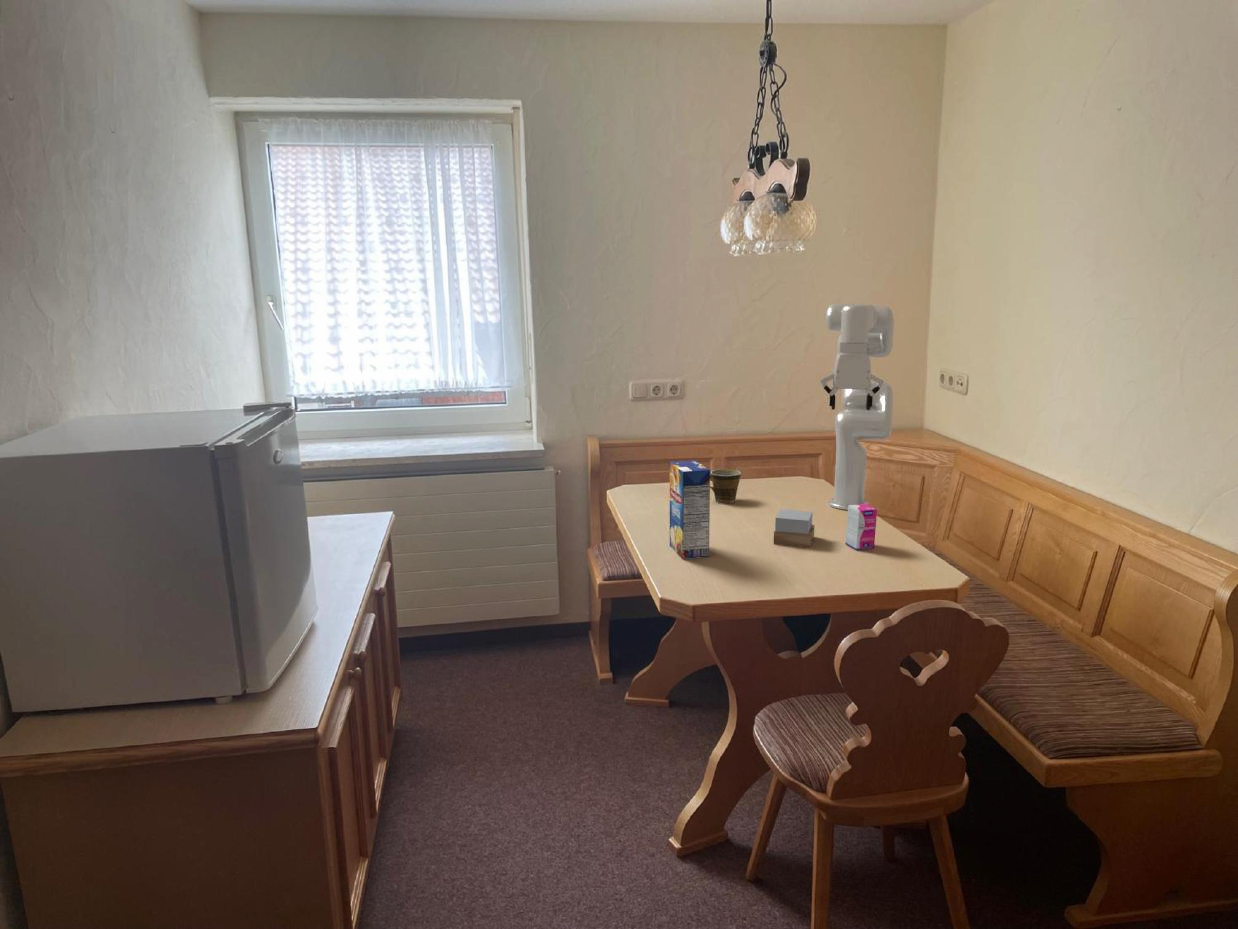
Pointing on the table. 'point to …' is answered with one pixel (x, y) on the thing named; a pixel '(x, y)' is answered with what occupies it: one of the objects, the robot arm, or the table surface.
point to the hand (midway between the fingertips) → (850, 409)
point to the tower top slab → (793, 521)
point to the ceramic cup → (725, 484)
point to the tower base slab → (794, 538)
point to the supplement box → (861, 526)
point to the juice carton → (689, 509)
